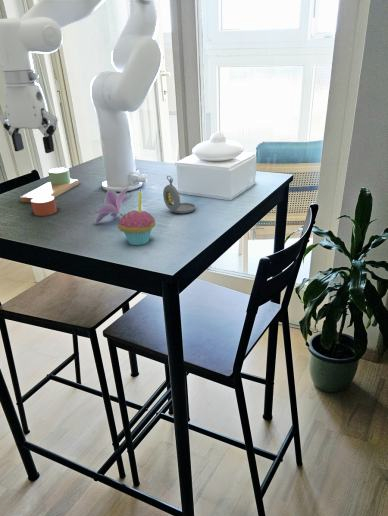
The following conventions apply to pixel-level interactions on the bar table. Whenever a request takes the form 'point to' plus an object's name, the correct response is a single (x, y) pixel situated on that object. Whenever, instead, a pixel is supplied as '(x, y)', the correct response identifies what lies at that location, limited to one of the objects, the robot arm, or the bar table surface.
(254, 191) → the bar table surface
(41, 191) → the board
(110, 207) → the lily
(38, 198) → the terracotta disc
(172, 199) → the pocket watch
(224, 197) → the butter dish
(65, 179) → the sage disc
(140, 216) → the cupcake
